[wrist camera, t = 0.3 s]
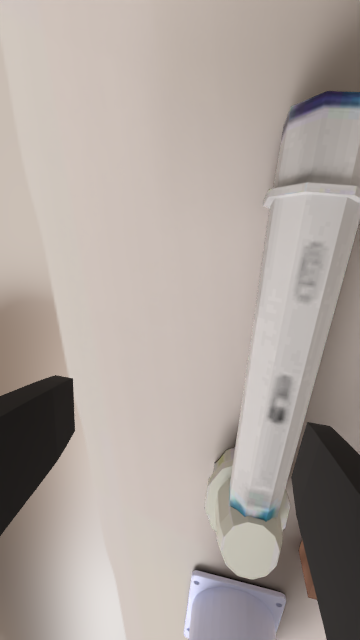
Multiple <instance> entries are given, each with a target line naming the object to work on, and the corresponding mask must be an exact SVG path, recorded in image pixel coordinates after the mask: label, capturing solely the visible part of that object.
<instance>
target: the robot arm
mask: <svg viewBox="0 0 360 640" xmlns="http://www.w3.org/2000/svg"><path fill="white" fill-rule="evenodd" d="M74 431H75V422H74V397H73V379H72V378H67V377H61V376H56V375H55V376H52V377H49V378H46V379H43V380H40V381H38V382H35V383H32V384H30V385H27V386H24V387H22V388H19V389H17V390H15V391H12V392H9V393H7V394H4V395H2V396H0V536H1V534H2V533H3V532H4V530H5V529H6V527H7V526H8V525H9V524H10V522H11V521H12V520H13V518H14V517H15V516H16V515H17V513H18V512H19V511H20V509H21V508H22V507H23V505H24V504H25V503H26V501H27V500H28V499H29V497H30V496H31V495H32V494H33V492H34V491H35V490H36V488H37V487H38V486H39V484H40V483H41V482H42V481H43V479H44V478H45V476H46V475H47V474H48V473H49V471H50V470H51V469H52V467H53V466H54V464H55V463H56V462H57V460H58V459H59V457H60V456H61V454H62V452H63V451H64V449H65V447H66V446H67V444H68V442H69V440H70V438H71V437H72V435H73V433H74ZM292 485H293V493H294V501H295V508H296V515H297V520H298V524H299V528H300V532H301V536H302V540H303V545H304V549H305V553H306V557H307V561H308V565H309V569H310V573H311V577H312V581H313V585H314V589H315V593H316V597H317V601H318V605H319V609H320V613H321V617H322V621H323V625H324V629H325V634H326V638H327V640H360V455H359V454H358V453H357V452H356V451H355V450H354V449H353V448H352V447H351V446H350V445H349V444H348V443H347V442H346V441H345V440H344V439H343V438H342V437H341V436H340V435H339V434H338V433H337V432H336V431H335V430H334V429H333V428H331V427H330V426H326V425H320V424H315V423H309V422H307V425H306V429H305V432H304V436H303V439H302V443H301V446H300V450H299V453H298V457H297V460H296V464H295V467H294V470H293V474H292ZM285 604H286V597H285V595H284V594H283V593H281V592H278V591H274V590H270V589H266V588H262V587H259V586H255V585H251V584H247V583H243V582H240V581H236V580H232V579H228V578H224V577H221V576H217V575H213V574H209V573H205V572H202V571H197V570H195V571H193V572H192V576H191V584H190V591H189V598H188V605H187V613H186V620H185V627H184V636H185V637H186V638H188V640H276V632H277V629H278V626H279V623H280V620H281V617H282V614H283V610H284V607H285Z"/></svg>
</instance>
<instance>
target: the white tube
mask: <svg viewBox="0 0 360 640" xmlns="http://www.w3.org/2000/svg"><path fill="white" fill-rule="evenodd" d="M263 207H266V208H269V209H270V210H269V217H268V224H267V231H266V238H265V245H264V251H263V258H262V265H261V272H260V279H259V286H258V293H257V300H256V307H255V314H254V321H253V328H252V335H251V342H250V348H249V355H248V362H247V369H246V376H245V383H244V390H243V397H242V404H241V411H240V418H239V425H238V432H237V439H236V446H235V448H231V449H228V450H226V452H225V453H224V454H223V455H222V457H221V458H220V459H219V460H218V462H215V465H214V471H213V474H212V476H211V477H210V478H209V480H208V487H207V493H206V499H205V510H206V513H207V516H208V519H209V522H210V524H211V527H212V529H213V530H214V531H215V532H216V536H217V542H218V545H219V548H220V551H221V554H222V556H223V559H224V561H225V564H226V566H227V567H228V568H230V569H231V570H232V571H233V572H234V573H235V574H236V575H237V576H240V577H244V578H247V579H251V580H253V579H257V578H261V577H265V576H267V575H268V574H269V573H270V572H271V571H272V570H273V569H274V568H275V567H276V566H277V562H278V559H279V555H280V550H281V546H282V541H283V537H282V530H283V529H284V528H285V527H286V523H287V518H288V514H289V509H290V502H289V498H288V495H287V492H286V484H287V480H288V477H289V473H290V470H291V466H292V462H293V459H294V455H295V452H296V448H297V444H298V441H299V437H300V434H301V430H302V426H303V423H304V419H305V416H306V412H307V408H308V405H309V401H310V398H311V394H312V390H313V387H314V383H315V380H316V376H317V372H318V369H319V365H320V362H321V358H322V354H323V351H324V347H325V344H326V340H327V336H328V333H329V329H330V326H331V322H332V319H333V315H334V311H335V308H336V304H337V301H338V297H339V293H340V290H341V286H342V283H343V279H344V275H345V272H346V268H347V265H348V261H349V257H350V254H351V250H352V247H353V243H354V239H355V236H356V232H357V229H358V225H359V221H360V92H335V91H326V92H324V93H322V94H319V95H317V96H315V97H312V98H310V99H308V100H305V101H303V102H301V103H298V104H296V105H294V106H291V108H290V111H289V113H288V116H287V118H286V121H285V123H284V127H283V133H282V139H281V145H280V151H279V157H278V162H277V168H276V174H275V180H274V186H273V189H269V191H268V193H267V195H266V196H265V198H264V203H263Z"/></svg>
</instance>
